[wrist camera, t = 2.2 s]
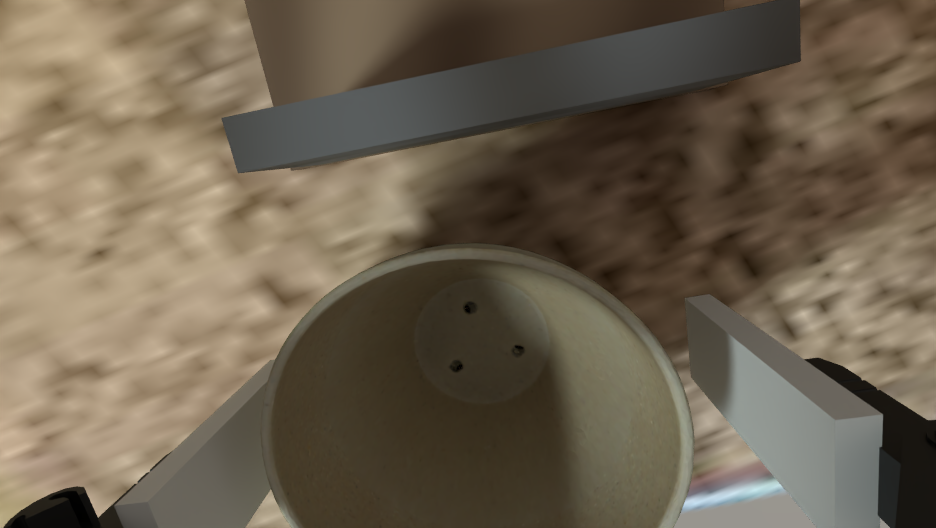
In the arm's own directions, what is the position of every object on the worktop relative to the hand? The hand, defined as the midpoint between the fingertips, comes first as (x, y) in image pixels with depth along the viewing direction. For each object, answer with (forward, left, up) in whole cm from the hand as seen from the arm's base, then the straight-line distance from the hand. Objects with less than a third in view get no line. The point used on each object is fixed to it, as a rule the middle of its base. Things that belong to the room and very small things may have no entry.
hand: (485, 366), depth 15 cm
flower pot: (0, 0, -3) cm, 3 cm away
